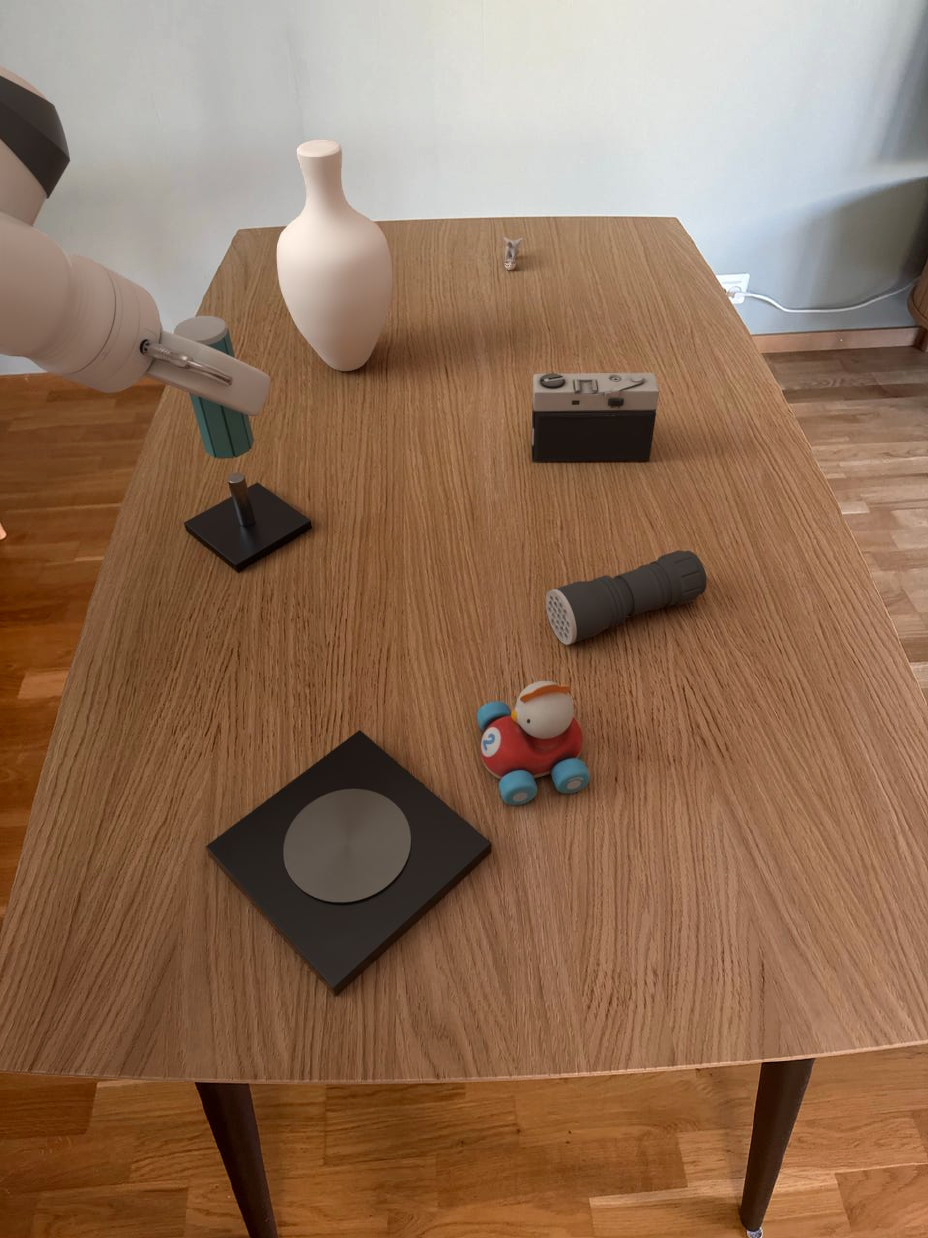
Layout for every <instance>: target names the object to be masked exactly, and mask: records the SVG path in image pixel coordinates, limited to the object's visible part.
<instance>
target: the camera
mask: <svg viewBox="0 0 928 1238" xmlns="http://www.w3.org/2000/svg"><path fill="white" fill-rule="evenodd" d="M532 376H533V377H532V414H531V443H530V444H531V445H530V446H531V462H534V463H536V462H537V463H538V462H542V463H543V462H649V461H650V459H651V454H652V453H651V452H652V447H653V440H654V432H655V426H656V425H655V424H656V417H657V410H658V402H659V395H660V389H659V385H658V380H657V377H656V374H655V373H653V372H608V373H607V372H595V373H594V372H590V373H589V372H588V373H587V372H586V373H585V372H583V373H581V372H579V373H535V374H533V375H532Z"/></svg>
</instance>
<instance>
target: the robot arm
mask: <svg viewBox="0 0 928 1238" xmlns="http://www.w3.org/2000/svg"><path fill="white" fill-rule="evenodd" d="M69 151H70V150H69V147H68V142H67V138H66V134H65V131H64V126H63V124H62V121H61V118H60V116H59V113H58V111H57V108H56V106H55V105H54V104H53V103H52V102H50V101H49V100H48V98H47V97H46V96H44V94H43V93H42V92H41V91H40V90H39V89H37V88H36V87H35V86H34V85H32V84H31V83H30V82H29V81H27V80H26V79H24V78H23V77H21V76H19V75H18V74H16V73H14V72H12V71H10V70H9V69H7V68H5V67H3V66H1V65H0V355H4V356H7V357H17V358H18V357H20V358H26V359H28V360H29V361H31V362H33V363H34V364H35V365H36V366H37V367H39V368H40V369H42V370H43V371H45V372H48V373H50V374H53V375H55V376H57V377H60V378H63V379H65V380H68V381H71V382H74V383H77V384H79V385H82V386H84V387H87V388H90V389H93V390H95V391H98V392H100V393H103V394H106V393H107V394H114V393H119V392H123V391H124V390H125V391H126V390H127V389H129V388H130V387H132V386H133V385H135V384H136V383H138V382H141V381H143V380H144V379H146V378H149V379H152V380H154V381H157V382H158V383H162V384H165V385H167V386H170V387H172V388H175V389H178V390H180V391H183V392H185V393H188V394H189V393H191V394H193V395H196V396H198V397H201V398H204V399H206V400H209V401H212V402H214V403H217V404H219V405H222V406H225V407H227V408H230V409H232V410H235V411H238V412H240V413H243V414H246V415H248V416H249V417H257V416H259V415H260V413H261V412H262V410H263V408H264V406H265V403H266V402H267V398H268V395H269V392H270V389H271V384H272V380H271V378H270V376H269V374H267V373H266V372H264V371H262V370H260V369H259V368H257V367H254V366H252V365H250V364H248V363H245V362H244V361H241V360H240V359H238V358H236V357H235V358H233V357H231V356H229V355H227V354H225V353H223V352H221V351H218V350H216V349H214V348H211V347H209V346H206V345H204V344H201V343H198V342H196V341H193V340H190V339H187V338H184V337H181V336H178V335H176V334H174V332H173V333H172V332H170V331H167V330H164V328H163V324H162V321H161V316H160V311H159V308H158V305H157V303H156V301H155V298H154V296H152V294H151V292H149V291H148V290H147V289H146V288H145V287H143V286H142V285H140V284H139V283H137V282H135V281H133V280H132V279H129V278H127V277H126V276H124V275H122V274H120V273H119V272H117V271H114V270H113V269H111V268H109V267H108V266H105V265H104V264H102V263H100V262H98V261H96V260H94V259H92V258H90V257H88V256H84V255H81V254H77V253H70V252H68V251H66V250H65V249H63V247H61V245H60V244H58V242H57V241H55V240H54V239H53V238H52V237H51V236H50V235H47V233H45V232H43V231H41V230H39V229H38V228H35V225H36V222H37V220H38V218H39V215H40V214H41V211H42V210H43V206H44V205H45V202H46V200H48V199H50V197H51V195H52V194H53V192H54V190H55V188H56V186H57V185H58V183H59V181H60V180H61V178H62V177H63V174H64V173H65V171H66V169H67V167H68V166H69V164H70V162H71V158H70V152H69Z"/></svg>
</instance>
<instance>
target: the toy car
mask: <svg viewBox="0 0 928 1238" xmlns="http://www.w3.org/2000/svg"><path fill="white" fill-rule="evenodd" d="M570 691H571V686H570V685H568V684H563V685H560V684H559V683H556V682H555V681H552V680H539V681H538V680H537V681H534V682H532V683H530V684H529V685H527V686H526V687H524V688H523V689H522V691H521V692H520V693H519V695H518V697H517V699H516V703H515V707H514V708H513V709H512V711H511V708H510V707H509V705H508V704H507V703H505V702H503V701H499V700H498V701H489V702H487V703H485V704H483V705H482V706H481V707H480V708H479V709H478V710H477V713H476V719H477V722H478V726H479V729H480V730H481V732H482V733H483V735H482V737H481V741H480V756H481V760H482V763H483V766H484V767H485V769H486V770H487V771H488V773H490V774H491V775H492V776H493V777H495V778H497V779H498V780H499V783H498V789H499V792H500V796H501V799H502V802H503V803H505V804H507V805H509V806H521V805H524V804H527V803H529V802H531V800H533V799H534V798H535V797H536V795H537V793H538V786H537V784H536V780H535V779H537V778H541V777H545V776H548V775H550V774H551V779H552V781H553V782H552V783H553V784H554V786H555V789H556V790H557V791H558V792H559V793H561V794H573V793H577V792H579V791H582V790H583V789H585V788H586V787H587V786H588V784H589V782H590V781H591V774H590V772H589V769H588V767H587V765H586V763H585V762H584V761H583V759H580V758H579V757H580V755H581V753H582V750H583V743H584V737H583V731H582V728H581V726H580V723H579V722H578V720H577V719H576V718H575V716H574V714H575V708H574V707H575V706H574V702H573V699H572V696H571V694H570V693H569V692H570Z"/></svg>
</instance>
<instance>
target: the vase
mask: <svg viewBox="0 0 928 1238" xmlns="http://www.w3.org/2000/svg"><path fill="white" fill-rule="evenodd" d="M296 158H297V161H298V163H299V167H300V170H301V173H302V177H303V180H304V184H305V192H306V196H305V197H306V198H305V204H304V208H303V210H302V211H301V213H300V214H299V215H298V216H297V217H296V218H294V219H293V220H292V221H291V222H290V223H288V225H287V226H286V227H285V228H284V229H283V230H282V231H281V232H280V234H279V237H278V241H277V245H276V267H277V278H278V283H279V289H280V291H281V294H282V297H283V300H284V303H285V305H286V308H287V311H288V313H289V315H290V317H291V318H292V320H293V322H294V324H295V326H296V328H297V329H298V331H299V332H300V335H302V336H303V338H304V339H305V341H306V342H307V343H308V344H309V345H310V346H311V348H312V349H313V350H314V352H316V353H317V355H318V356H319V357H320V358H321V360H322V361H323V362H324V363H325V364H326V365H327V366H329V367H330V368H332V369H334V370H336V371H341V372H352V371H355V370H358V369H361V367H363V366H364V365H366V363H367V362H368V360H369V358H370V357H371V356H372V353H373V351H374V349H375V347H376V345H377V343H378V341H379V338H380V337H381V334H382V332H383V329H384V327H385V325H386V322H387V319H388V316H389V311H390V307H391V299H392V292H393V283H394V280H393V279H394V278H393V277H394V274H393V264H392V257H391V253H390V248H389V243H388V241H387V238H386V236H385V234H384V232H383V231H382V229H381V227H380V226H379V225H378V224H377V223H376V222H374V221H373V220H371V219H370V218H369V217H367V216H366V215H364V214H363V213H361V212H359V211H358V210H356V209H355V208H354V207H352V206H351V205H350V204H349V202H348V200H347V198H346V195H345V192H344V189H343V181H342V167H343V165H342V164H343V150H342V145H341V144H339V143H338V142H337V141H335V140H330V139H314V140H309V141H305V142H303V143H301V144H299V145H298V147H297V149H296Z"/></svg>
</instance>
